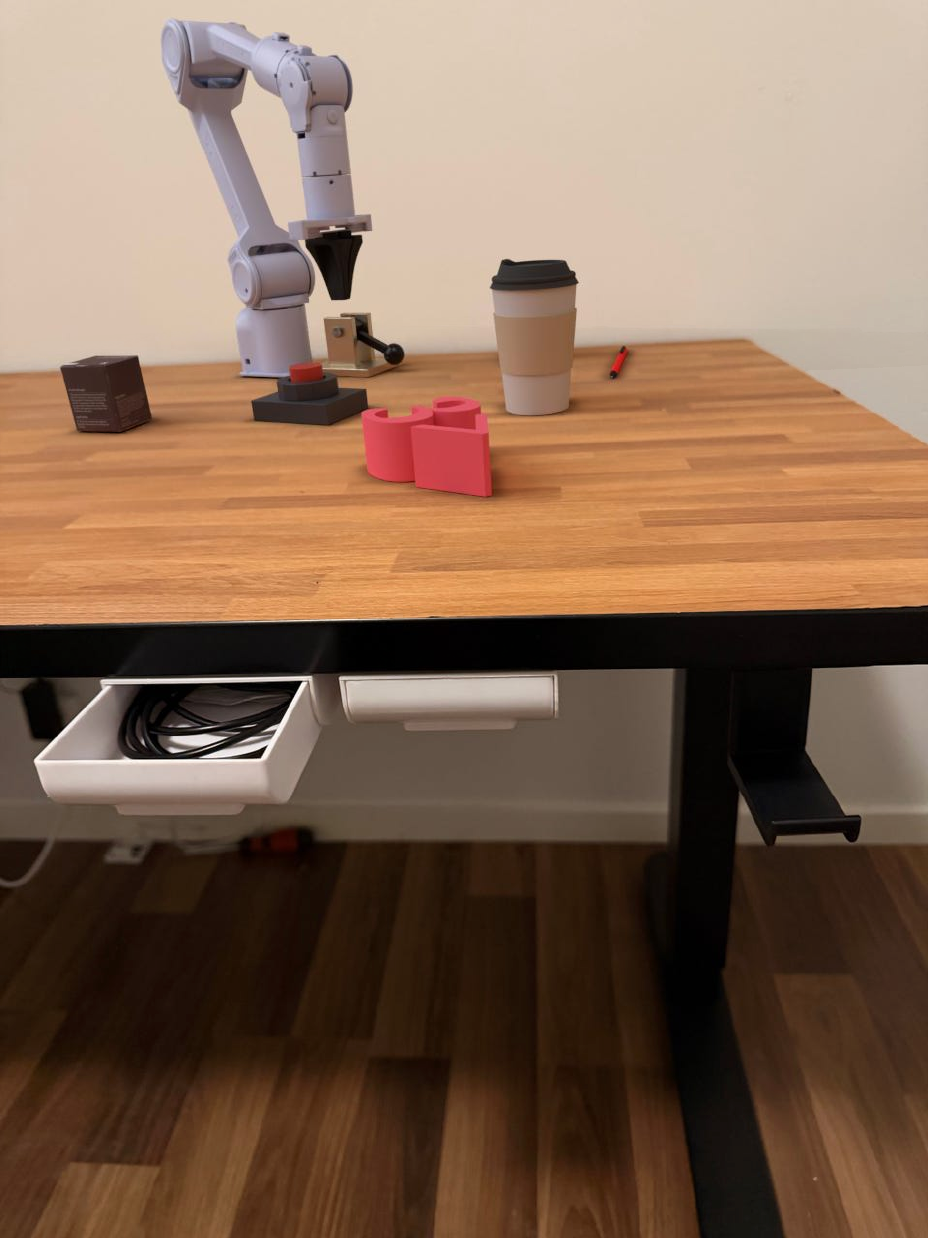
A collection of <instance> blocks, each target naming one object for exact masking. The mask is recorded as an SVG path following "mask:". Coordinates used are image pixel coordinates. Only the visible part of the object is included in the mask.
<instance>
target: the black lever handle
mask: <svg viewBox="0 0 928 1238" xmlns="http://www.w3.org/2000/svg"><path fill="white" fill-rule="evenodd" d="M342 317H349V316H348V315H346V316H342ZM355 325H356V334H357V341H361V342H363V343H365V344H366V345H368V346H370V347H372V348H374V351H377V352H379V353H380V354H383V357H384V358H385V360H386V362H387V363H389V364H391V365H398V364H399V365H400V364H401V363H402V362H403V361H404V359H405V355H406V354H405V350H404V348H403V346H401V345H400V344H398V343H395V342H392V343H389V344H387V343H385V342H383V341H381V340H379V339H378V338H376V337H374V336H373V337H372V336H371V335H369V334H367V333H365V332H363V331H362V328H363V324H362V323H360V322H358V321H357V320H355Z"/></svg>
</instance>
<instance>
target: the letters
mask: <svg viewBox="0 0 928 1238" xmlns="http://www.w3.org/2000/svg"><path fill="white" fill-rule="evenodd" d="M410 408H411V409H410V410H411V414H410V415H404V416H396V417H389V411H388V408H383V407H382V408H379V407H377V408H370V409H365V410H363V411H361V412H360V415H361V424H362V432H363V433H362V434H363V442H364V443H363V444H364V452H365V461H366V470H367V473H368V474H369V475H370V476H372V477H373V478H376V479H379V480H382V481H386V482H393V483H394V482H395V483H397V482H398V483H403V482H405V483H406V482H415V487H416V488H421V489H429V490H436V491H441V492H450V493H455V494H464V495H469V496H470V495H471V496H476V497H486V498H487V497H490V496H492V495H493V493H492V472H491V470H492V469H491V453H490V451H491V450H490V432H489V421H488V412H482V405H481V402H479V401H477V400H475V399H473V398H468V397H463V396H462V397H461V396H442V397H441V396H440V397H436V398H434V399H432V407H427V406H424V405H421V404H417V405H412V406H411V407H410Z"/></svg>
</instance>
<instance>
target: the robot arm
mask: <svg viewBox="0 0 928 1238" xmlns="http://www.w3.org/2000/svg"><path fill="white" fill-rule="evenodd" d="M160 36H161V37H160V50H161V62H162V65H163V68H164V70H165V73H166V75H167V78H168V80H169V83H170V85H171V87H172V90H173V92H174V95H175V97H176V99H177V101H178V103H179V104H180V105H181V106H183V107H184V108H185V109H187V112H188V115H189V117H190V120H191V123H192V125H193V126H192V127H193V128H194V131H195V133H196V135H197V137H198V140H199V143H200V145H201V149H202V150H203V152H204V154H205V157H206V160H207V162H208V165H209V168H210V169H211V173H212V176H213V177H214V180H215V182H216V185H217V187H218V190H219V192H220V195H221V197H222V200H223V202H224V205H225V207H226V209H227V212H228V215H229V217H230V220H231V222H232V225H233V227H234V230H235V232H236V234H237V238H236V240H235V241H234V243H233V244H232V245H231V248H230V249H229V252H228V255H227V258H226V259H227V263H228V266H229V269H230V274H231V280H232V281H231V282H232V286H233V289H234V292H235V294H236V296H237V298H238V299H239V300H240V301H241V302H242V304H244V306H245V307H244V308H243V309H241V310H240V312H239V313H238V314H237V317H236V322H235V332H236V333H235V334H236V338H237V345H238V352H239V356H240V363H241V369H242V371H240V372H239V373H238V375H239V377H259V378H260V377H261V378H283V377H286V376H290V372H289V366H291V365H295V364H300V363H313V356H312V349H311V348H312V347H311V339H310V334H309V333H310V331H309V325H308V318H307V310H306V304H309V303H310V297H311V296H312V294H313V293H314V290H315V286H316V271H315V267H314V264H313V263H312V261H311V258H310V257H309V256H308V254H307V253H306V252H305V251H304V250H303V248H302V246H301V244H300V242H299V240H300V241H304V245H305V248H306V250H307V251H308V252H309V254H310V256H311V257H312V258H313V260H314V262H315V263H316V265H317V268H318V269H319V272H320V274H321V277H322V280H323V281H324V285H325V287H326V290H327V293H328V295H329V298H330V301H348V300H351V296H352V289H353V279H354V273H355V267H356V263H357V259H358V256H359V253H360V249H361V247H362V245H363V244H364V243H363V241H364V240H363V235H362V234H355V233H362V232H364V233H365V232H373V223H372V214H371V213H369V214H368V213H367V214H356V210H355V208H356V207H355V202H354V201H355V200H354V192H353V191H354V190H353V181H352V175H351V174H352V171H351V161H350V151H349V142H348V132H347V122H346V113H347V111H348V110H349V109H350V106H351V104H352V100H353V95H354V94H353V92H354V87H353V85H354V84H353V77H352V75H351V69H350V68H349V66H348V64H347V63H346V61H344V60H343V59H342V58H341V57H340V56H339V55H338V54H330V55H328V56H325V55H322V56H321V55H317V54H315V53H314V52H313V49H312V47H311V46H309V45H306V44H299V45H297V44H294V43H292V42H291V41H290V35H289V34H287V33H285V32H280V31H279V32H276V31H274V32H272V35H268V36H265V37H263V38H260V37H258V36H257V35H255V34H254V33H251V32H250V31H249V30H247V26H246V25H245V24H240V23H238V22H235V21H229V22H227V23H226V22H212V21H194V20H179V19H177V18H168V19H167V20H166V21H165V23H164V25H163V27H162V29H161V33H160ZM249 71H250V72H251V74H252V76H253V79H254V81H255V83H256V84H257V85H258V86H259V87H260V88H261V89H263V90H264V91H266V92H269V93H270V94H272V95H274V96H276V97H278V98H279V99H281V101H282V104H283V106H284V108H285V110H286V111H287V115H288V118H289V124H290V128H291V131H292V133H294V134H296V143H297V150H298V158H299V166H300V174H301V182H302V183H301V184H302V190H303V197H304V205H305V214H306V219H302V220H294V221H288V222H287V229H288V231H287V230H285V229H284V228H282V227H280V226H278V225H277V224H276V222H275V219H274V218H273V215H272V212H271V210H270V207H269V205H268V203H267V200H266V197H265V195H264V192H263V190H262V188H261V185H260V183H259V180H258V178H257V177H258V176H257V175H256V172H255V170H254V167H253V165H252V163H251V160H250V157H249V154H248V152H247V150H246V147H245V145H244V143H243V140H242V138H241V135H240V133H239V130H238V127H237V124H236V123H235V120H234V118H233V115H232V111H233V110H234V109H236V108H237V107H238V106H239V105H241V104H242V101H243V97H244V92H245V88H246V83H247V77H248V73H249ZM330 227H334V228H335V230H331V228H330Z"/></svg>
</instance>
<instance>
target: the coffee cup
mask: <svg viewBox="0 0 928 1238" xmlns="http://www.w3.org/2000/svg"><path fill="white" fill-rule="evenodd" d="M576 274H577V273H576V271H574V270H571V269H570V267H569V265H568V262H567V260H565V259H535V260H522V261H520V260H519V261H514V260H511V259H510V258H505V259H501V261H500V263H499V267H498V271H497V274H496V275H493V276H492V277H491V284H490V286H489V289H490V290H491V292H492V301H493V302H492V303H493V309H494V312H493V313H492V314H493V322H494V323H493V324H494V329H495V339H496V346H497V353H498V354H497V355H498V360H499V361H498V363H499V370H500V372H501V378H502V386H503V393H504V395H503V396H504V403H505V411H506V412H507V413H510V414H513V415H517V416H541V415H542V416H544V415H552V414H557V413H560V412H563V411H566V410H567V409H569V407H570V392H571V375H572V369H573V364H574V354H575V353H574V351H575V339H576V325H577V313H578V312H577V310H578V308H577V307H576V300H577V285H578V284H580V282H579V280H578V278H577V275H576Z"/></svg>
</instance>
